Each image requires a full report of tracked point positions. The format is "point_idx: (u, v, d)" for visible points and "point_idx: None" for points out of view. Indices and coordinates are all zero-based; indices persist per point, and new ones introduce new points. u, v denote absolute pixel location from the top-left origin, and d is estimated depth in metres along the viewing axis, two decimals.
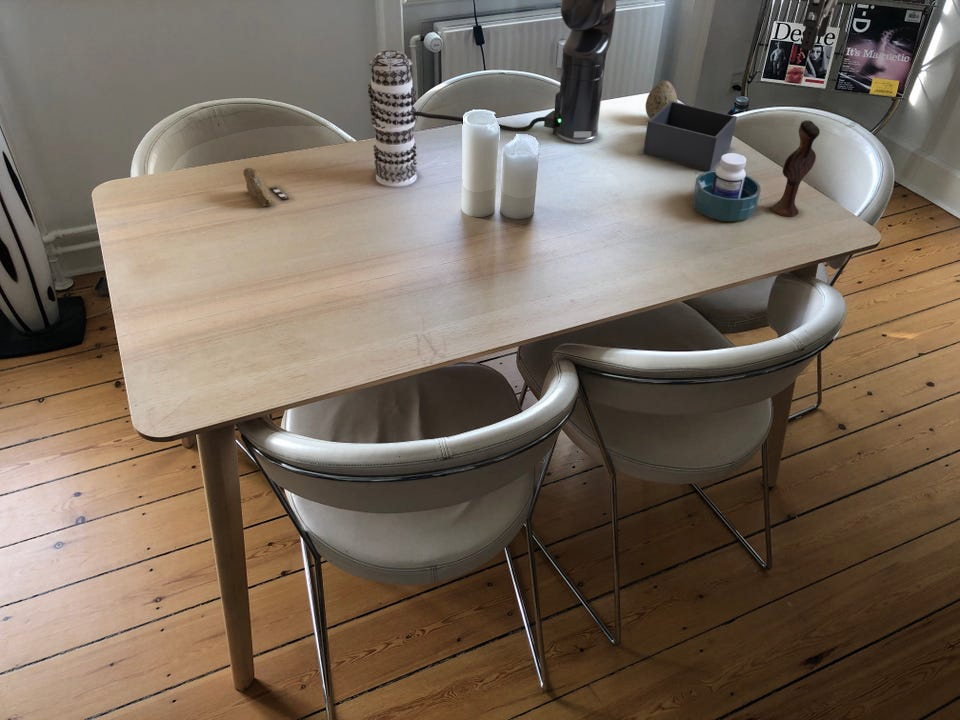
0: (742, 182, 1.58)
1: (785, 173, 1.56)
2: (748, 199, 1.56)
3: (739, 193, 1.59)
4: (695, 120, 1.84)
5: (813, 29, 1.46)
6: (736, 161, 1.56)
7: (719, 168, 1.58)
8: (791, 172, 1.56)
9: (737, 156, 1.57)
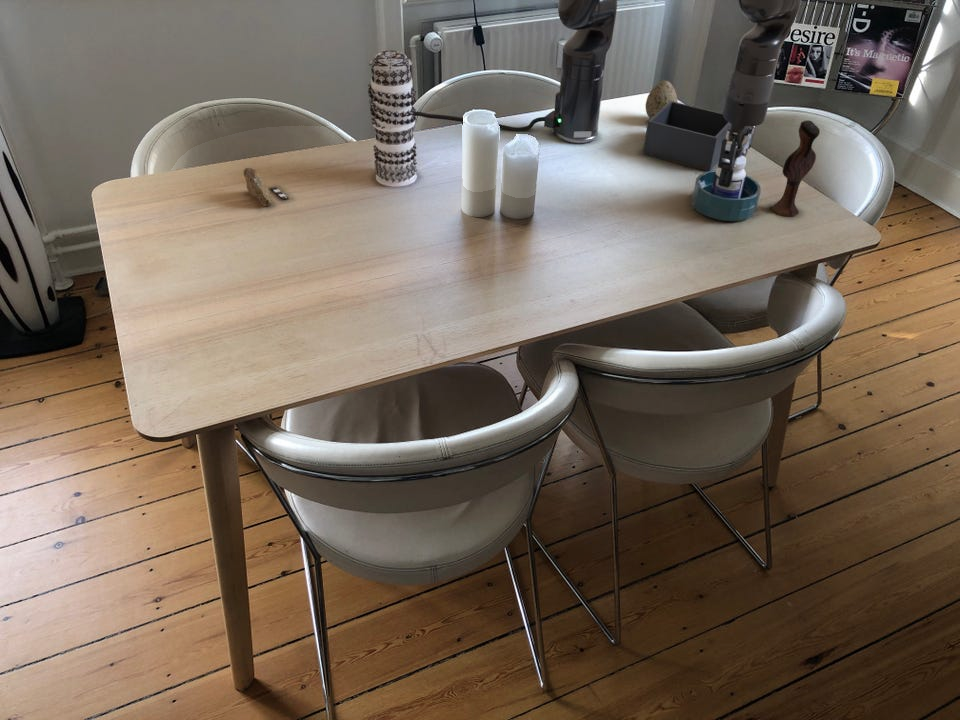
0: (742, 182, 1.58)
1: (785, 173, 1.56)
2: (748, 199, 1.56)
3: (739, 193, 1.59)
4: (695, 120, 1.84)
5: (728, 170, 1.54)
6: None
7: (719, 168, 1.58)
8: (791, 172, 1.56)
9: None
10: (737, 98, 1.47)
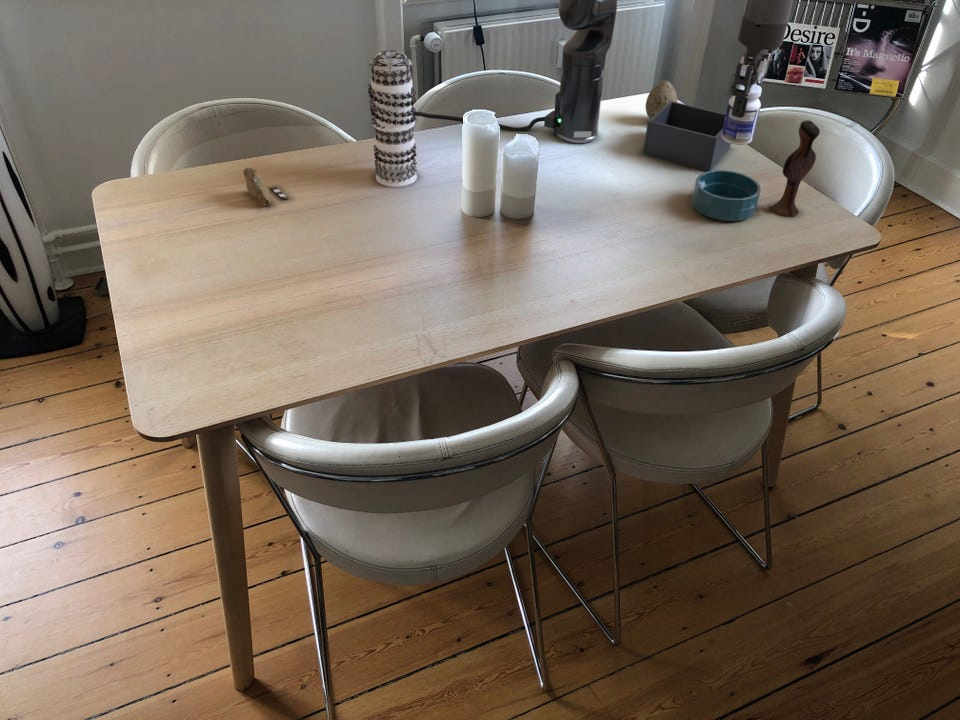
0: (757, 113, 1.50)
1: (785, 173, 1.56)
2: (748, 199, 1.56)
3: (753, 125, 1.51)
4: (695, 120, 1.84)
5: (743, 98, 1.46)
6: (751, 90, 1.48)
7: (733, 98, 1.50)
8: (791, 172, 1.56)
9: None
10: (754, 18, 1.38)
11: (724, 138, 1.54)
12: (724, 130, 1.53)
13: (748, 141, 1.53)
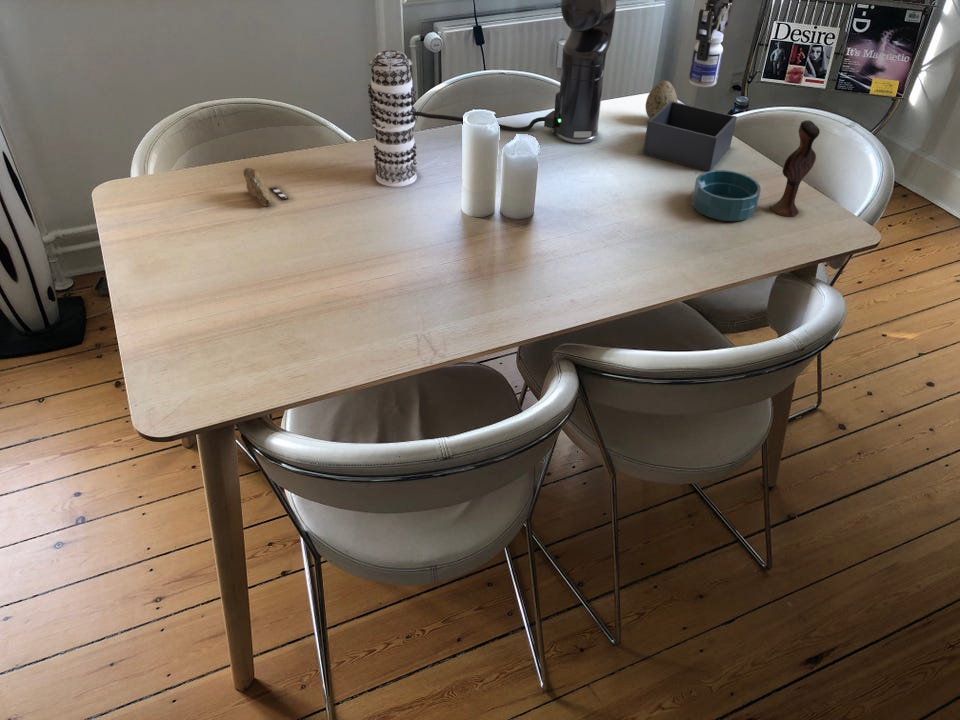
0: (719, 57, 1.66)
1: (785, 173, 1.56)
2: (748, 199, 1.56)
3: (717, 68, 1.67)
4: (695, 120, 1.84)
5: (705, 43, 1.62)
6: (714, 36, 1.64)
7: (698, 44, 1.66)
8: (791, 172, 1.56)
9: (715, 32, 1.65)
10: None
11: (691, 81, 1.70)
12: (691, 74, 1.69)
13: (712, 84, 1.69)
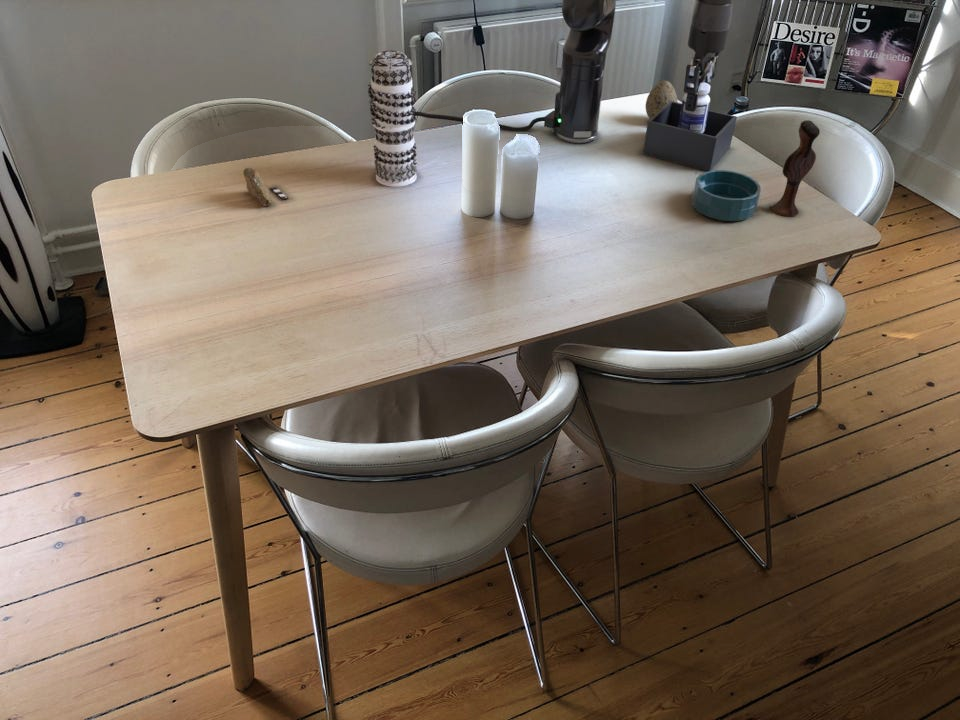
0: (707, 107, 1.74)
1: (785, 173, 1.56)
2: (748, 199, 1.56)
3: (704, 118, 1.76)
4: None
5: (693, 95, 1.70)
6: (701, 88, 1.72)
7: (686, 95, 1.75)
8: (791, 172, 1.56)
9: None
10: (699, 26, 1.63)
11: None
12: (680, 122, 1.78)
13: (700, 132, 1.77)
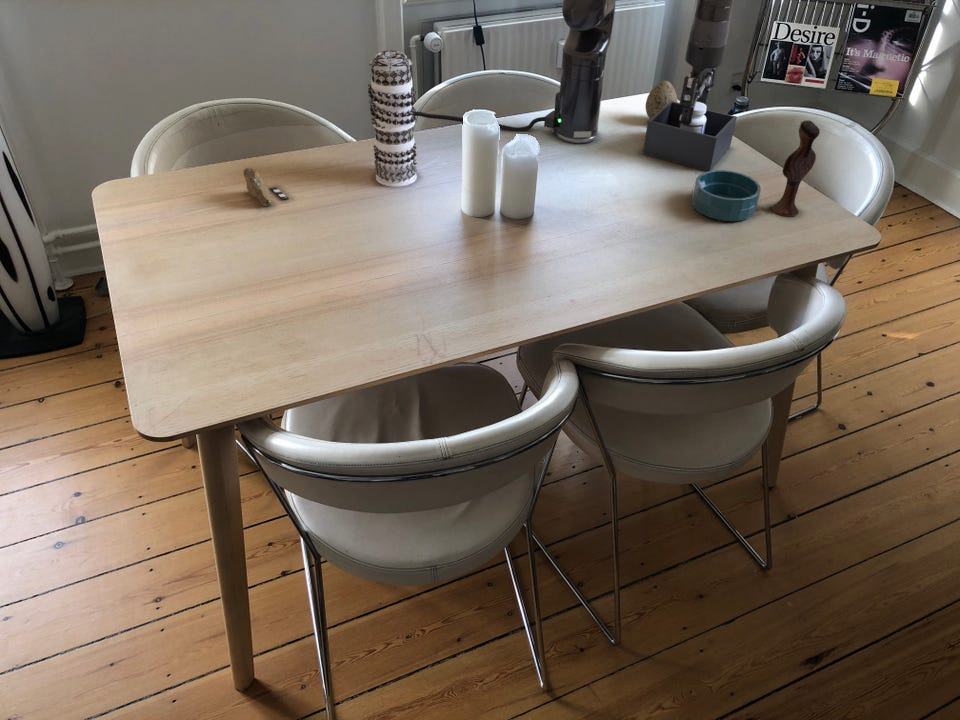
0: (703, 127, 1.77)
1: (785, 173, 1.56)
2: (748, 199, 1.56)
3: None
4: None
5: (689, 108, 1.71)
6: (697, 108, 1.75)
7: None
8: (791, 172, 1.56)
9: (699, 104, 1.77)
10: (697, 42, 1.65)
11: None
12: None
13: None
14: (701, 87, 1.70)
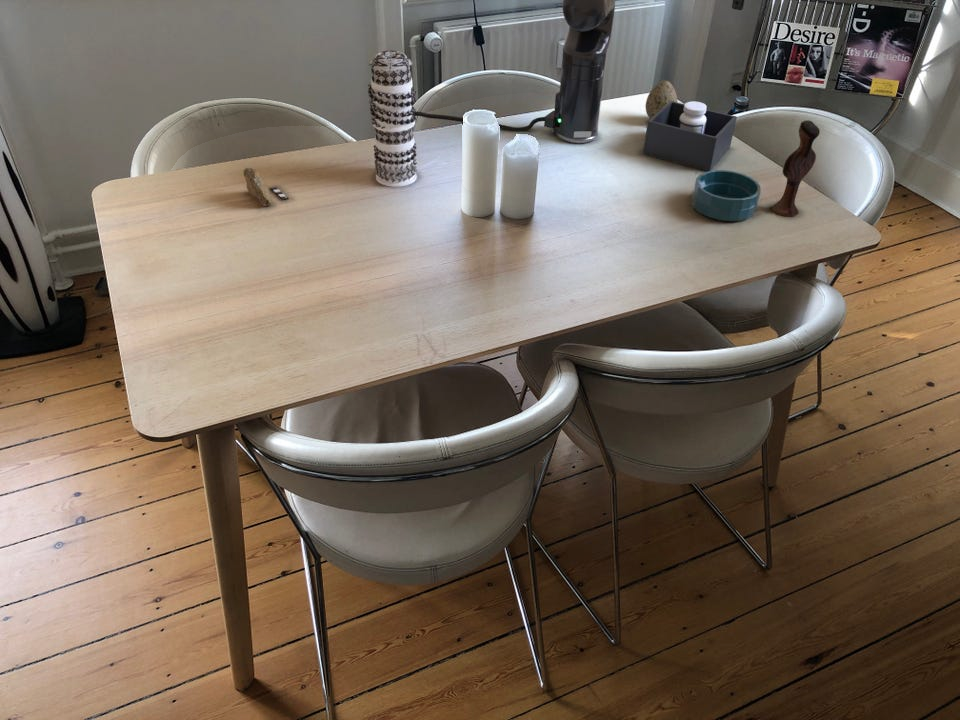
0: (703, 127, 1.77)
1: (785, 173, 1.56)
2: (748, 199, 1.56)
3: None
4: None
5: None
6: (697, 108, 1.75)
7: (682, 115, 1.77)
8: (791, 172, 1.56)
9: (699, 104, 1.77)
10: None
11: None
12: None
13: None
14: None
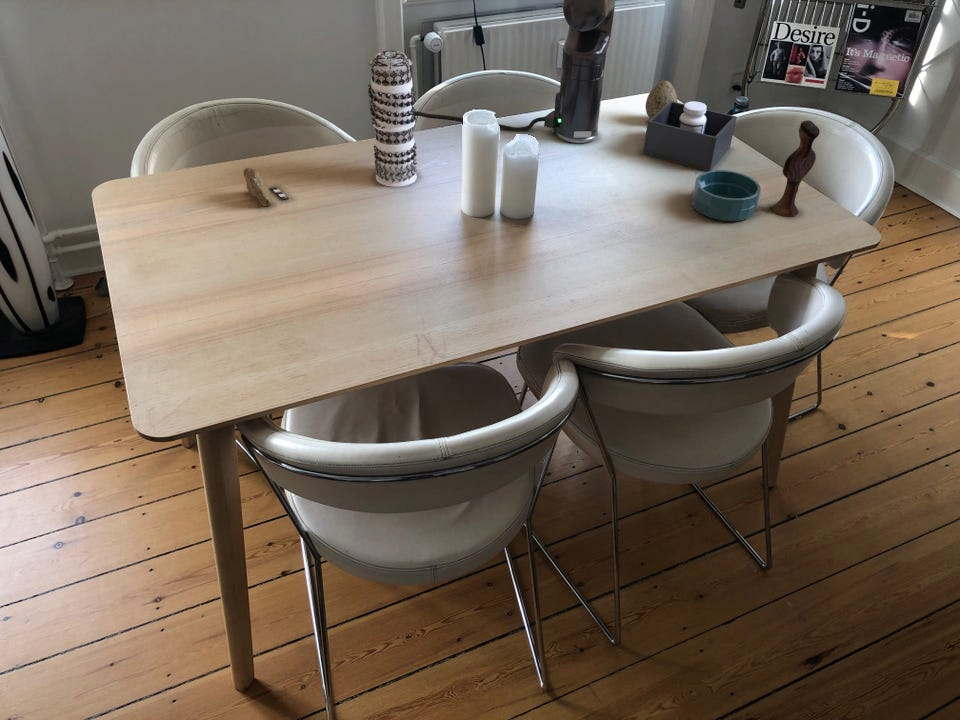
0: (703, 127, 1.77)
1: (785, 173, 1.56)
2: (748, 199, 1.56)
3: None
4: None
5: None
6: (697, 108, 1.75)
7: (682, 115, 1.77)
8: (791, 172, 1.56)
9: (699, 104, 1.77)
10: None
11: None
12: None
13: None
14: None
